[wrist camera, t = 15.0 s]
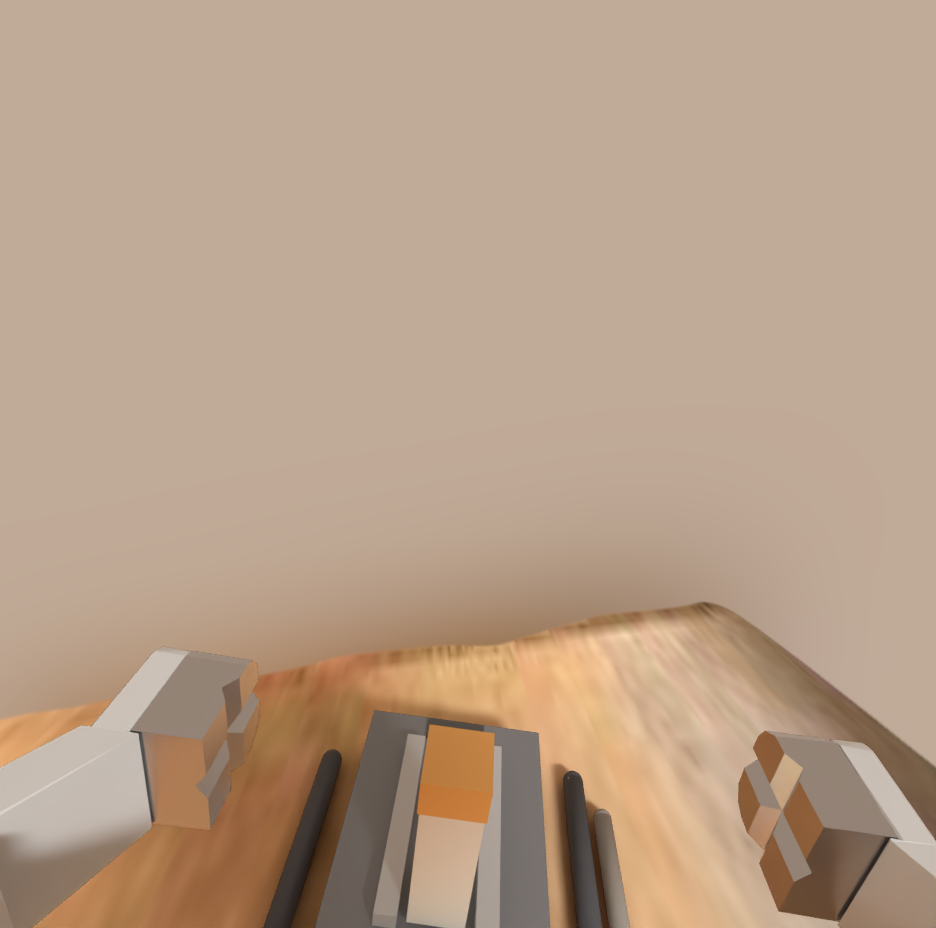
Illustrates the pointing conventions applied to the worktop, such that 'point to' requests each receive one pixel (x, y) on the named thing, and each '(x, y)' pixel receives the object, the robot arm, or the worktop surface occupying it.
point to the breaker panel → (395, 829)
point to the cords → (578, 841)
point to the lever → (450, 824)
